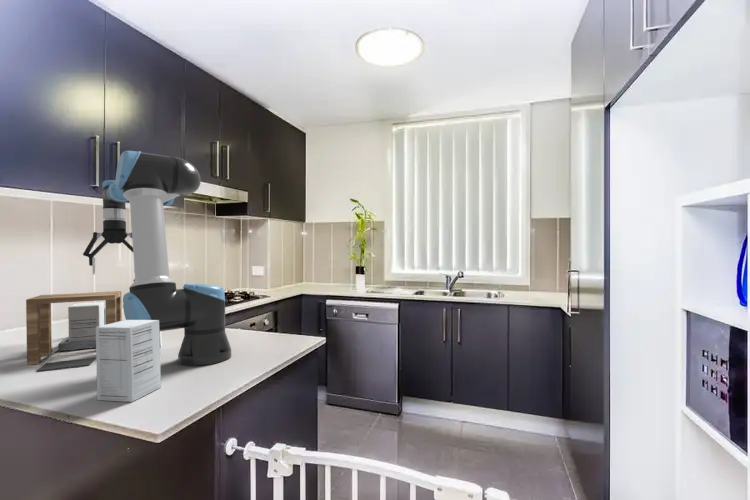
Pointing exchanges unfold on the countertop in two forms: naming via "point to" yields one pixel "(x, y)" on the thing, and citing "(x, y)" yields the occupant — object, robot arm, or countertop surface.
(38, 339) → the bridge
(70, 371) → the countertop surface
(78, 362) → the dark grey flat block
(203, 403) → the countertop surface
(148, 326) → the supplement box
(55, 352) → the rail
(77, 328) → the supplement box
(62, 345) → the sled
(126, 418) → the countertop surface
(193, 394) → the countertop surface
